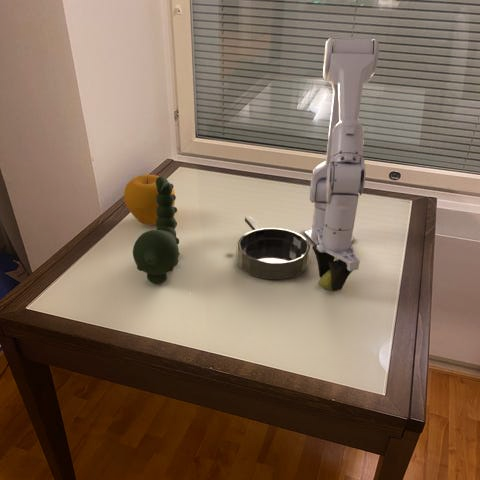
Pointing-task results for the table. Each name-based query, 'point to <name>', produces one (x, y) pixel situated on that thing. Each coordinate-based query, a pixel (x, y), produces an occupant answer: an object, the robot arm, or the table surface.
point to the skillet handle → (253, 224)
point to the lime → (326, 280)
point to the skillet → (273, 253)
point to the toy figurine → (159, 238)
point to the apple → (143, 198)
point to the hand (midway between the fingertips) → (330, 282)
